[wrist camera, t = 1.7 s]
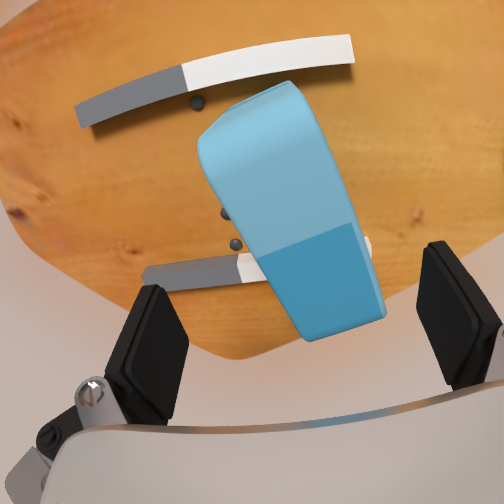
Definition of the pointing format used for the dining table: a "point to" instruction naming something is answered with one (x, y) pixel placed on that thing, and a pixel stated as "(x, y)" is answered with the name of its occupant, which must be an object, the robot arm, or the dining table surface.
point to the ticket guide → (193, 78)
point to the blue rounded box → (293, 210)
